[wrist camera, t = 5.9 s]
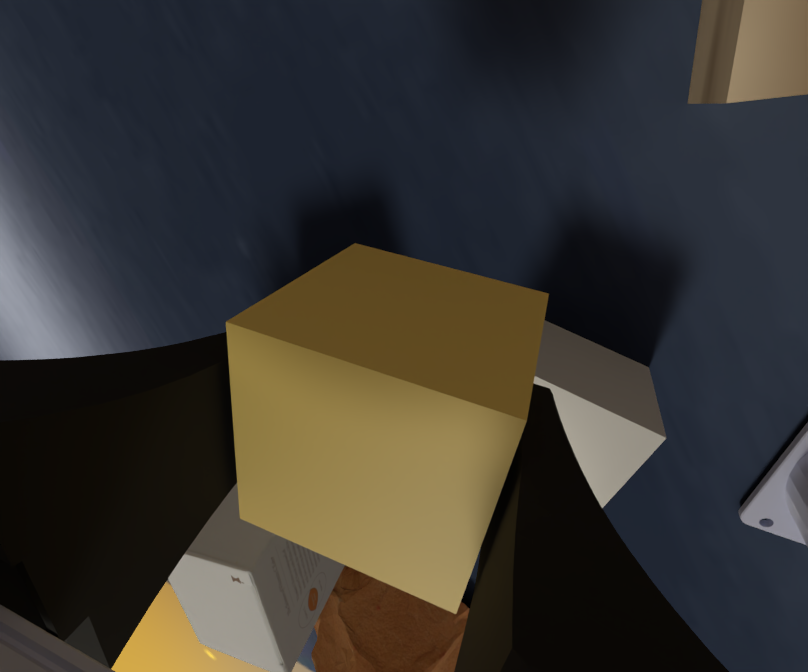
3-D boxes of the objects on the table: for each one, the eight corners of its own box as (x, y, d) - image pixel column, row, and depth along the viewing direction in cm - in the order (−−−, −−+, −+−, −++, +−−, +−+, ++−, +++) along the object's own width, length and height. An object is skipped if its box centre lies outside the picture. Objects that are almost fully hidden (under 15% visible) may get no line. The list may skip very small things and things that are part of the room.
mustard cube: (549, 293, 10) (527, 421, 6) (496, 448, 13) (456, 614, 9) (354, 242, 12) (225, 322, 7) (341, 394, 14) (240, 517, 10)
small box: (279, 405, 29) (144, 539, 20) (358, 416, 27) (247, 571, 18) (302, 497, 32) (196, 646, 23) (373, 513, 30) (287, 683, 21)
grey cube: (648, 366, 19) (666, 438, 15) (589, 442, 22) (590, 521, 18) (541, 317, 20) (530, 373, 16) (496, 397, 23) (477, 463, 19)
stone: (336, 607, 42) (244, 681, 34) (387, 486, 37) (296, 537, 29) (464, 751, 35) (387, 889, 27) (547, 622, 30) (485, 741, 22)
